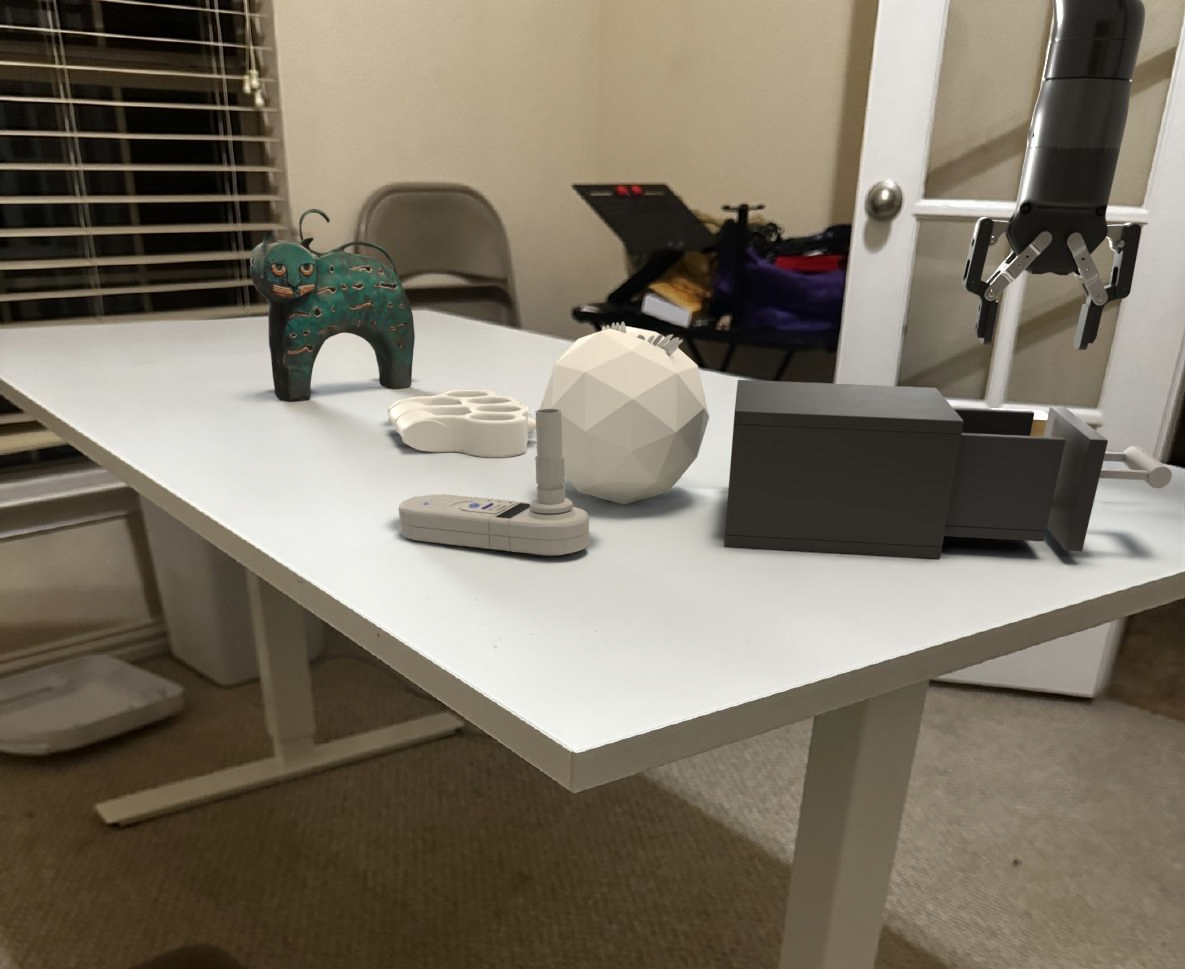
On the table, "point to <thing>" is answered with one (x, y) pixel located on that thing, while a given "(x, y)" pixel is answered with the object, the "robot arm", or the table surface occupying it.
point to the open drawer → (1034, 476)
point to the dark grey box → (841, 468)
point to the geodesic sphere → (627, 413)
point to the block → (1036, 422)
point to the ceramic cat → (330, 309)
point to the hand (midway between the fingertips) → (1032, 346)
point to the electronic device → (507, 509)
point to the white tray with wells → (464, 423)
